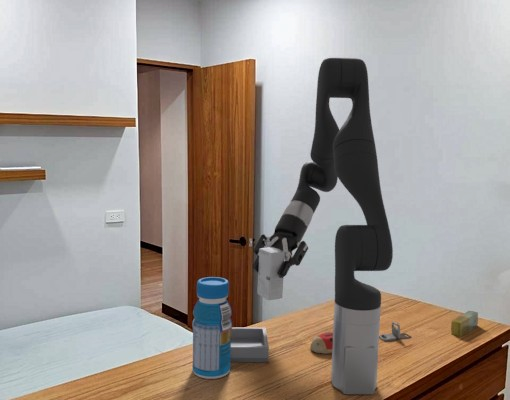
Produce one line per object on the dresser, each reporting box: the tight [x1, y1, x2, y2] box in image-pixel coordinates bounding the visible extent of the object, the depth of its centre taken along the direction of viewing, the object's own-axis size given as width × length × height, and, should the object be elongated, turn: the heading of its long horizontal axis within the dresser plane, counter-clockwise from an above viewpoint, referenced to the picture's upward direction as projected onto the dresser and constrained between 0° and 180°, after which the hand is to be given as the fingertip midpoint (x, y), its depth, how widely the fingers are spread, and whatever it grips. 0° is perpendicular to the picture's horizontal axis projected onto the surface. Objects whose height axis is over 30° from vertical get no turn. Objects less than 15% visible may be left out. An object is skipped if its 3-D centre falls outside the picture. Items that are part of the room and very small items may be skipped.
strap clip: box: [379, 321, 412, 342], centre depth 127 cm, size 8×3×4 cm, turn 111°
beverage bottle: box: [191, 276, 233, 380], centre depth 104 cm, size 8×8×20 cm
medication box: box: [450, 310, 479, 337], centre depth 134 cm, size 12×3×4 cm, turn 136°
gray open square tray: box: [230, 326, 270, 363], centre depth 116 cm, size 12×12×4 cm
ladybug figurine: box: [310, 331, 333, 355], centre depth 119 cm, size 7×10×4 cm
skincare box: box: [256, 247, 285, 301], centre depth 123 cm, size 6×4×12 cm
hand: (267, 273), depth 122 cm, fingers closed on skincare box, 7 cm apart
